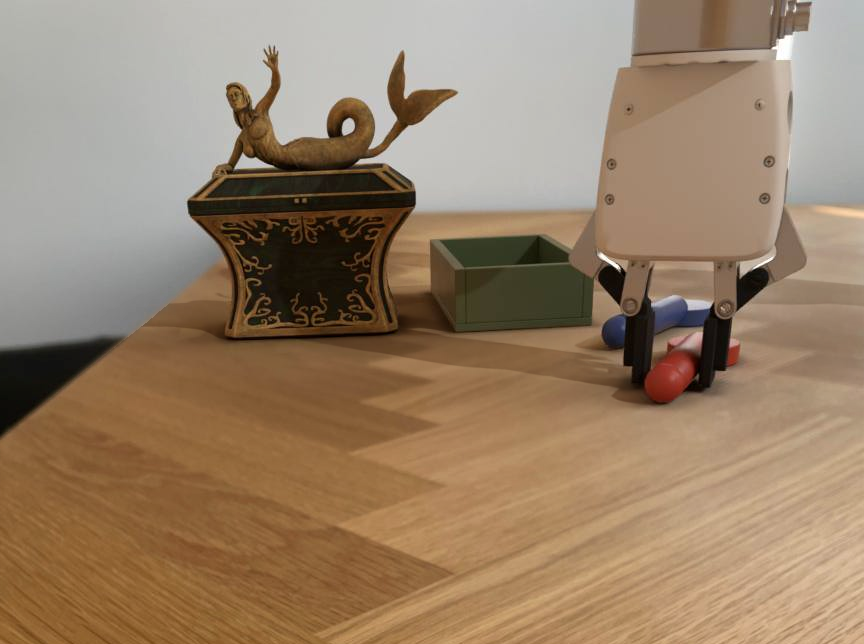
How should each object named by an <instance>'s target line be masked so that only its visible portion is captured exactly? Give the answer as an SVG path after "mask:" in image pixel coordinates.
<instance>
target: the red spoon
mask: <svg viewBox="0 0 864 644" xmlns="http://www.w3.org/2000/svg"><path fill="white" fill-rule="evenodd" d="M702 337H703V331H695V332H691V333H690V334H686V335H679V336H675V337H673V338H669V340H667V343H666V354H665V356H664V357H662V359H660V360H659V361H658V362H657V363H656V364H654V366H653V367H651V370H650V371H649V373H648V374H647V376H646V379H645V381H644V389H645V392H646V394H647V395H648V397H649V398H650V399H651V400H652V401H655V402H657V403H662V404H663V403H666V404H667V403H671V402H672V401H674V400H676V399H677V398H678V397H680V395H681V394H682V393H683V392H684V391H685V390H686V388H688V386H689V385H690V384H691V383H692V382H693V381H694V380H695V379H696V377H698V376H699V367H700V357H701V347H702ZM740 349H741V342H740V341H739V340H738V339H736V338H732V337H730V345H729V354H728V362H727V367H729V366H733V365H735V364H737V363H738V362H739V357H740Z"/></svg>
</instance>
